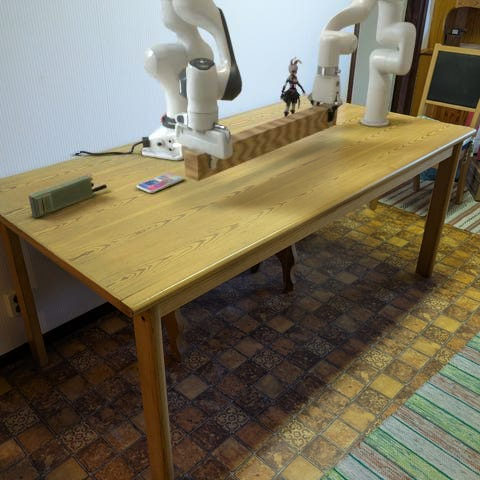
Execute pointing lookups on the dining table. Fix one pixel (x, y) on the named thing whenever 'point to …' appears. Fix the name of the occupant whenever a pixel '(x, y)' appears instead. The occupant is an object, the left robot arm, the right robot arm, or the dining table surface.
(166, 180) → the smartphone
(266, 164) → the dining table surface
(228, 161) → the block
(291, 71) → the figurine
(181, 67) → the left robot arm
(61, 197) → the handheld radio
